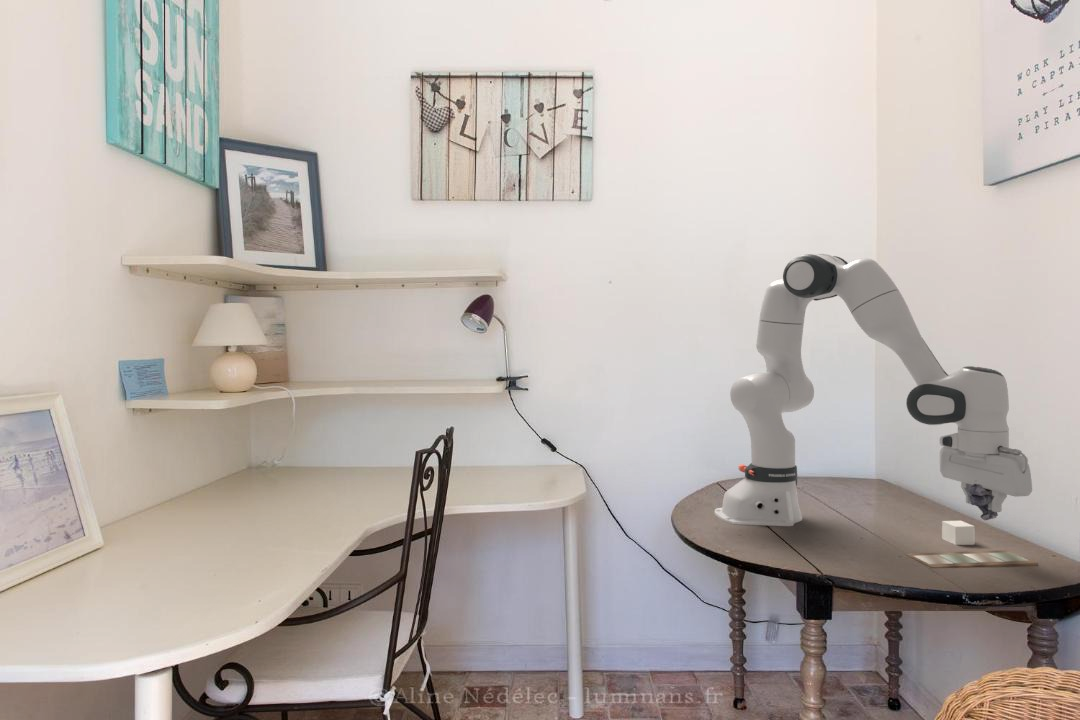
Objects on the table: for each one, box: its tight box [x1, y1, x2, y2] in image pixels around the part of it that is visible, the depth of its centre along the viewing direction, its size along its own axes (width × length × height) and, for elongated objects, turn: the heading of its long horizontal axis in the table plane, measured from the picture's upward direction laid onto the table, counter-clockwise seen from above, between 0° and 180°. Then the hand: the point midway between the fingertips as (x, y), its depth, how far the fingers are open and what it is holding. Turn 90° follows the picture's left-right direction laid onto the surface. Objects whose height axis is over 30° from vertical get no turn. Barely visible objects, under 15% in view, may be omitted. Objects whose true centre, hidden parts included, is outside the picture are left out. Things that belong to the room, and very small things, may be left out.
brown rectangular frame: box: [905, 549, 1039, 569], centre depth 130 cm, size 23×8×1 cm, turn 93°
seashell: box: [968, 484, 999, 521], centre depth 130 cm, size 5×5×10 cm
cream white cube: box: [941, 520, 976, 546], centre depth 143 cm, size 4×4×4 cm
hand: (983, 507), depth 130 cm, fingers closed on seashell, 4 cm apart
